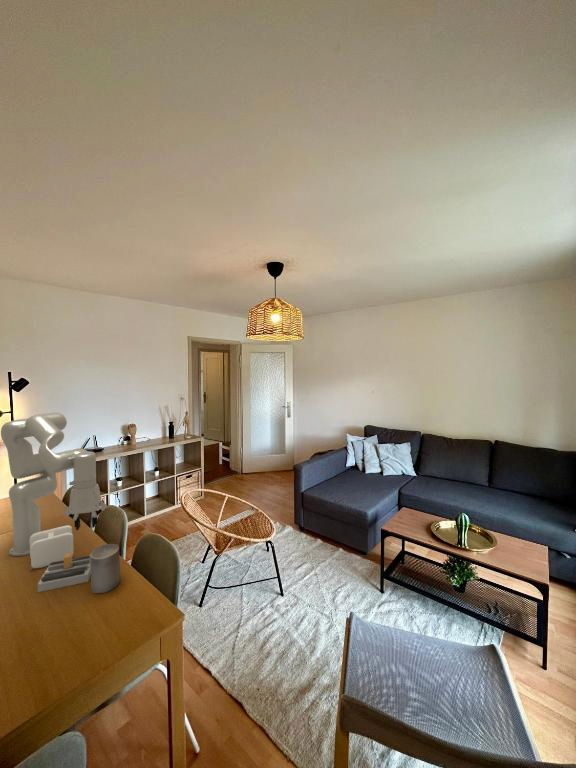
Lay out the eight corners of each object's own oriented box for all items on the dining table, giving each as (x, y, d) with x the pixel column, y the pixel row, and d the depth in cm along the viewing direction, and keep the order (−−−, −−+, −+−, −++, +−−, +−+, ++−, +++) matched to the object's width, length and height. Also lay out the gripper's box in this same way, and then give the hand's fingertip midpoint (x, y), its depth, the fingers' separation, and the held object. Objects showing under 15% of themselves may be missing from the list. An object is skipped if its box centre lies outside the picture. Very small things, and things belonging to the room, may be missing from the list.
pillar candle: (116, 572, 124) (114, 537, 124) (123, 585, 117) (122, 547, 117) (88, 584, 118) (86, 547, 117) (94, 598, 111) (92, 558, 110)
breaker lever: (64, 568, 122) (64, 554, 122) (73, 566, 123) (73, 552, 123) (62, 572, 120) (62, 558, 119) (71, 570, 121) (71, 556, 120)
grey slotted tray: (49, 572, 124) (49, 561, 124) (94, 563, 130) (94, 552, 130) (37, 592, 113) (37, 580, 113) (88, 581, 119) (87, 570, 119)
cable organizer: (28, 572, 124) (27, 544, 124) (30, 559, 133) (29, 533, 132) (73, 558, 133) (72, 533, 133) (72, 547, 142) (72, 523, 141)
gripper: (56, 489, 115) (57, 536, 116) (107, 483, 122) (108, 528, 123) (62, 482, 122) (64, 526, 123) (111, 477, 129) (111, 519, 130)
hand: (86, 526), depth 123 cm, fingers open, 4 cm apart
